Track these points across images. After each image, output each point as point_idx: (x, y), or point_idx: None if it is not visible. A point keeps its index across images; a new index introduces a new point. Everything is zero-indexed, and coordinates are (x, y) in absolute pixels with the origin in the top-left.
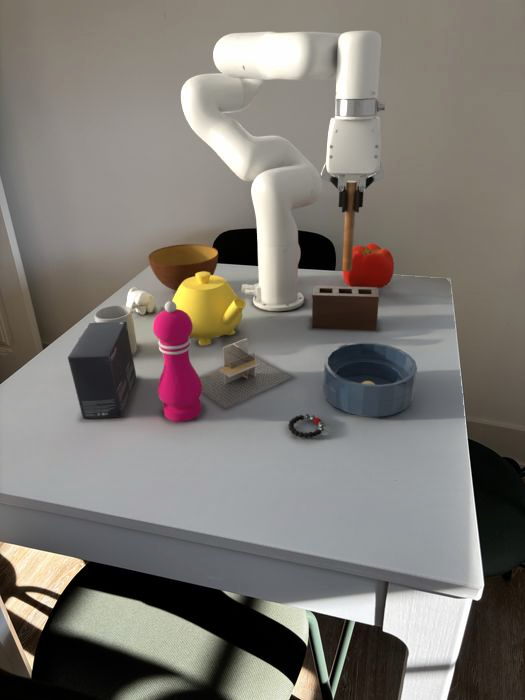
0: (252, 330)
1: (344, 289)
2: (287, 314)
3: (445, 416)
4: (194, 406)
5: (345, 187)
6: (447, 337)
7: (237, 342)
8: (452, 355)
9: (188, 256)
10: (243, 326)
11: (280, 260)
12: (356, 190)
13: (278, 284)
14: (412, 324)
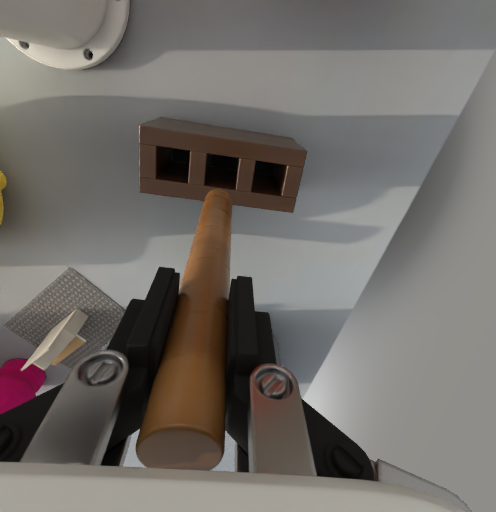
0: (38, 171)
1: (221, 154)
2: (97, 86)
3: (299, 380)
4: (36, 388)
5: (140, 410)
6: (395, 219)
7: (37, 358)
8: (370, 274)
9: None
10: (12, 150)
11: None
12: (229, 377)
13: (29, 41)
14: (360, 162)
